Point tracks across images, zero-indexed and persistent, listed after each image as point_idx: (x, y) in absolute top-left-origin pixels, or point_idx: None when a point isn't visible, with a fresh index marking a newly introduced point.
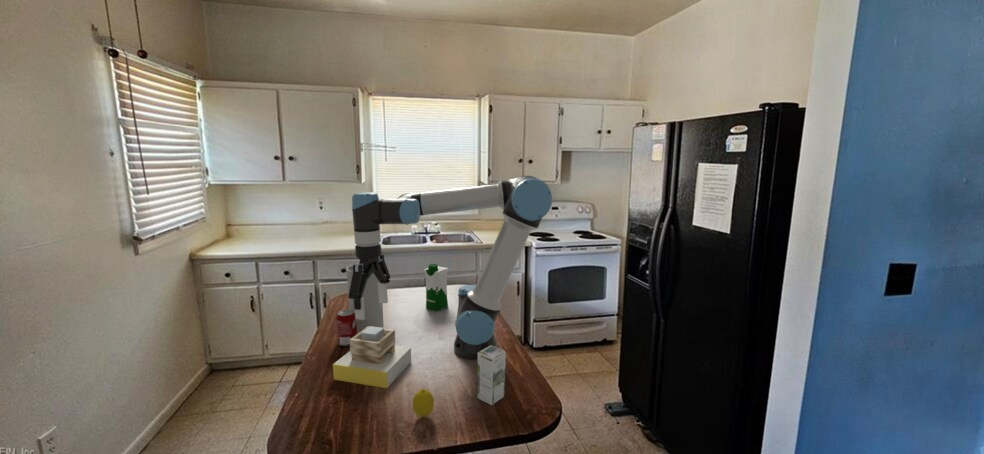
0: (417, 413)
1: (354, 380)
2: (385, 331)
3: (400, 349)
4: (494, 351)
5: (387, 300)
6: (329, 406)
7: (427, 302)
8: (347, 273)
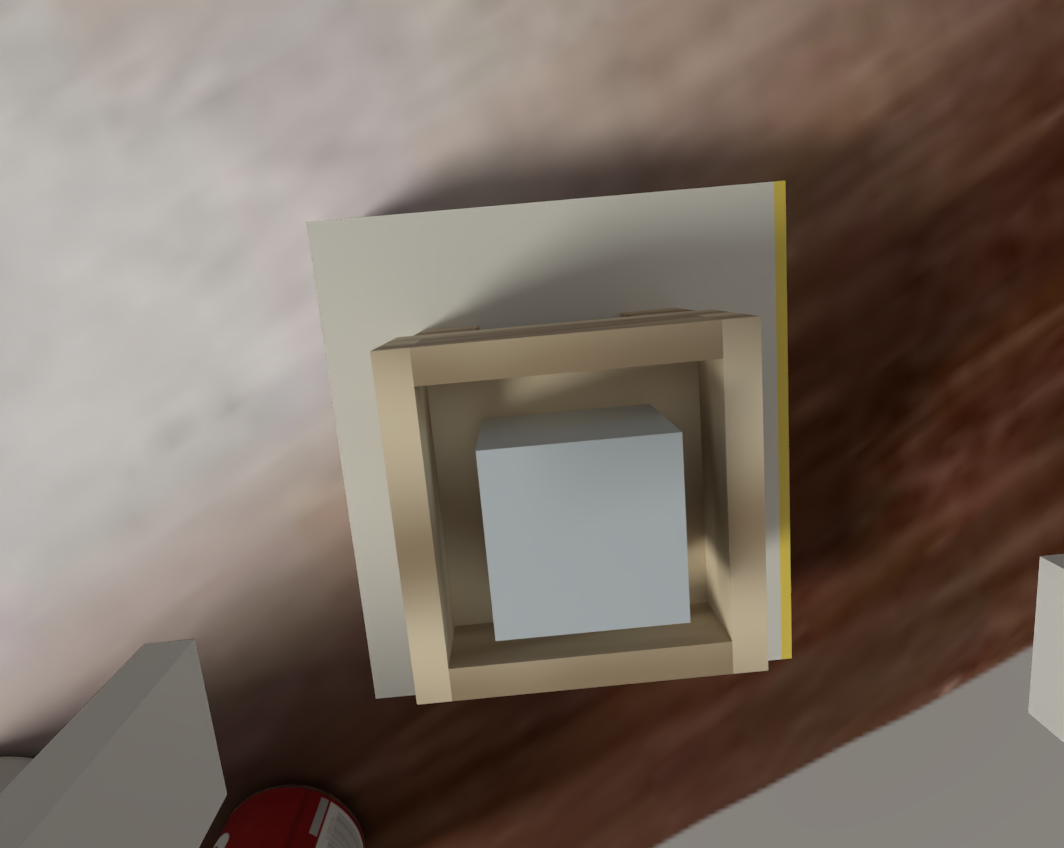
0: None
1: None
2: (424, 451)
3: (382, 294)
4: None
5: (124, 671)
6: (1013, 426)
7: None
8: None
